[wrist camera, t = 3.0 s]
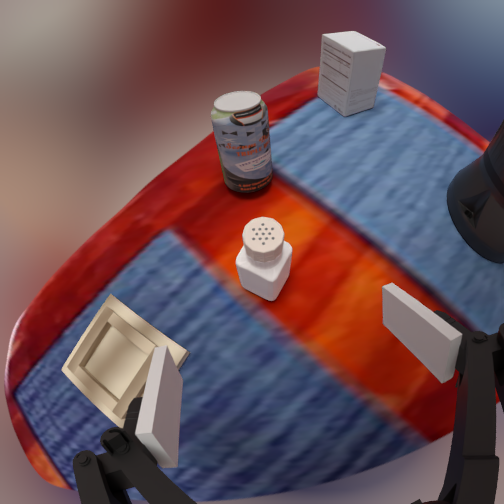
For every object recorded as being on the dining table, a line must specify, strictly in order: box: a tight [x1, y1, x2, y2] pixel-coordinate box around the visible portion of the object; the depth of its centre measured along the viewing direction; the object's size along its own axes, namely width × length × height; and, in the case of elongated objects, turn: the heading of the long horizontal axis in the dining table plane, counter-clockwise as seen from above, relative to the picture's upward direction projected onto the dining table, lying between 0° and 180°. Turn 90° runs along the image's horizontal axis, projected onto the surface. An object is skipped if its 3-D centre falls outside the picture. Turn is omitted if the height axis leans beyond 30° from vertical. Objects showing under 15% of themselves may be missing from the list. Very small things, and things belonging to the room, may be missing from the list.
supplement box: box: [318, 31, 386, 117], centre depth 40 cm, size 7×7×13 cm
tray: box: [61, 294, 190, 428], centre depth 27 cm, size 11×11×2 cm
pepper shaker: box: [236, 217, 292, 301], centre depth 27 cm, size 4×4×10 cm
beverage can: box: [211, 91, 273, 193], centre depth 33 cm, size 6×7×12 cm
